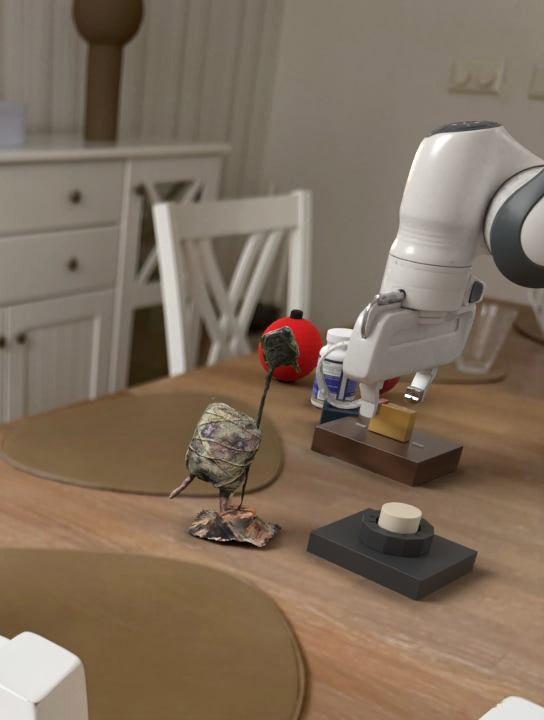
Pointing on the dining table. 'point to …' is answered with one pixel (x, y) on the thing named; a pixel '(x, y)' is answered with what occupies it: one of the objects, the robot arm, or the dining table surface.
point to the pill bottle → (334, 370)
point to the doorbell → (392, 554)
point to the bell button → (400, 518)
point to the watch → (332, 406)
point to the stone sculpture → (234, 454)
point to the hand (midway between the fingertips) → (391, 409)
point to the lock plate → (387, 450)
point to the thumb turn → (394, 421)
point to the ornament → (306, 342)
